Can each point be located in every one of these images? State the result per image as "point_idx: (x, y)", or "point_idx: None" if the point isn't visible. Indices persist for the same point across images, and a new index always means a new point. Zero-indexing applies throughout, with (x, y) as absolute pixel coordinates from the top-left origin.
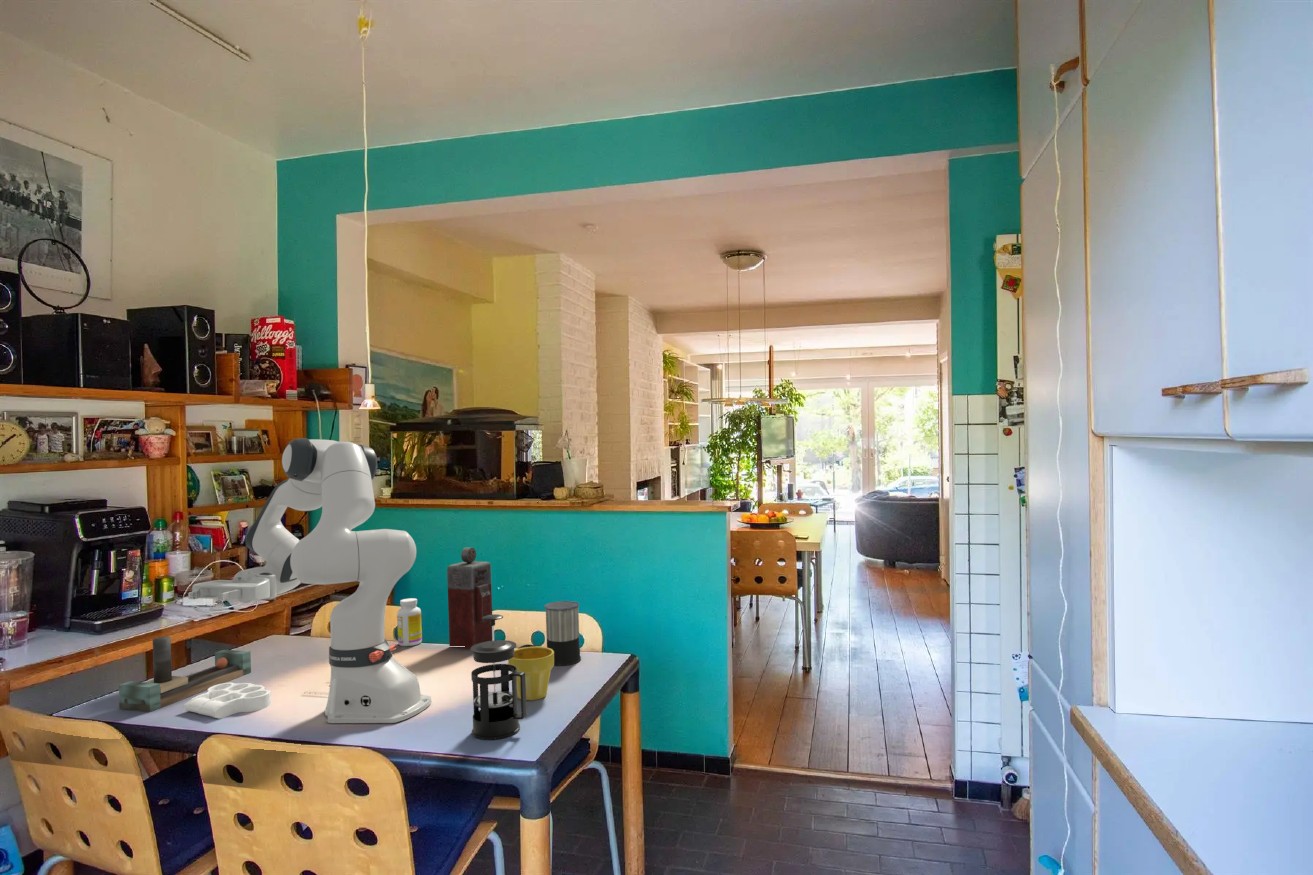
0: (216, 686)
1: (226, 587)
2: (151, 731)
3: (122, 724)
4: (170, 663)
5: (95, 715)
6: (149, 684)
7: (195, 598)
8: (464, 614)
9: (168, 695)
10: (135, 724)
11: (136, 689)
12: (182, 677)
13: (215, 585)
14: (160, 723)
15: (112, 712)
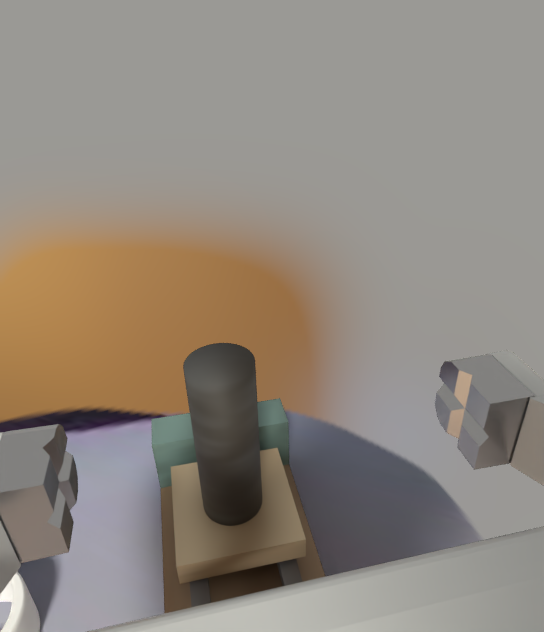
0: (9, 618)
1: (193, 613)
2: (26, 419)
3: (149, 414)
4: (200, 466)
5: (290, 415)
6: (181, 430)
7: (458, 435)
8: None
9: None
10: (113, 424)
11: None
12: (195, 553)
13: (512, 546)
14: None
15: None
